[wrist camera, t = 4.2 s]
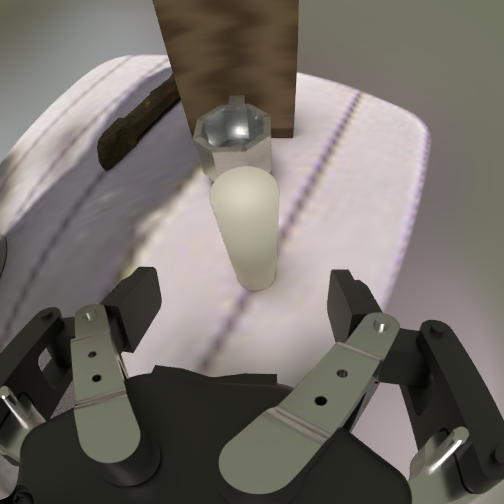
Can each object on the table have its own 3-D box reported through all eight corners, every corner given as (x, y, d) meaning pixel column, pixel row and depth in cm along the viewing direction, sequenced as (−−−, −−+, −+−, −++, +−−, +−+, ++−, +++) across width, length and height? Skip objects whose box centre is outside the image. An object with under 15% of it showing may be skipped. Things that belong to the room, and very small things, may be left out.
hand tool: (179, 86, 38) (172, 63, 34) (198, 89, 37) (192, 65, 33) (96, 167, 32) (80, 146, 28) (112, 175, 31) (96, 152, 27)
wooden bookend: (193, 141, 32) (150, -9, 13) (201, 111, 34) (169, -20, 16) (292, 137, 31) (298, -25, 13) (289, 108, 33) (291, -32, 15)
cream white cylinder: (235, 291, 24) (205, 223, 13) (237, 253, 25) (213, 167, 14) (275, 291, 24) (280, 223, 13) (275, 253, 25) (278, 165, 14)
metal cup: (201, 189, 26) (188, 154, 22) (212, 127, 30) (204, 94, 25) (271, 187, 26) (271, 151, 21) (270, 125, 29) (269, 90, 25)
